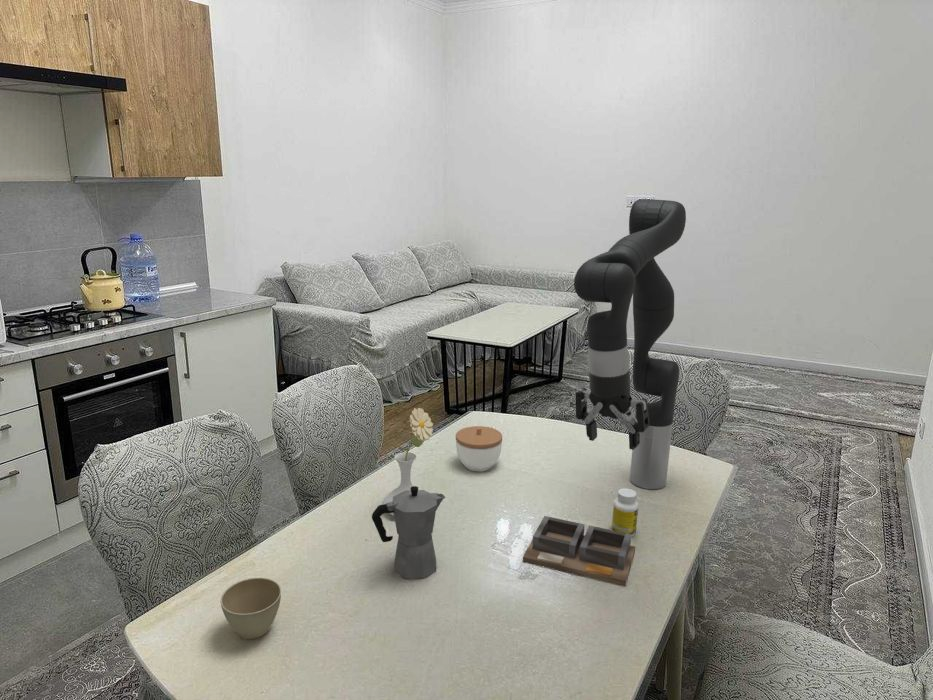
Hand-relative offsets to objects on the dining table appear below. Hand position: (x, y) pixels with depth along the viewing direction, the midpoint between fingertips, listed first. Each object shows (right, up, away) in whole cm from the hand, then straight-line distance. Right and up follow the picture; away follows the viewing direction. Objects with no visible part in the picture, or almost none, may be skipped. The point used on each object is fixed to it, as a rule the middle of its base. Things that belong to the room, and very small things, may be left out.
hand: (612, 443), depth 127 cm
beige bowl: (-66, -31, -13) cm, 74 cm away
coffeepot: (-40, -26, +5) cm, 48 cm away
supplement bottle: (+7, -23, +19) cm, 31 cm away
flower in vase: (-42, -20, +28) cm, 54 cm away
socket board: (-5, -25, +10) cm, 27 cm away
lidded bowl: (-25, -14, +50) cm, 58 cm away
